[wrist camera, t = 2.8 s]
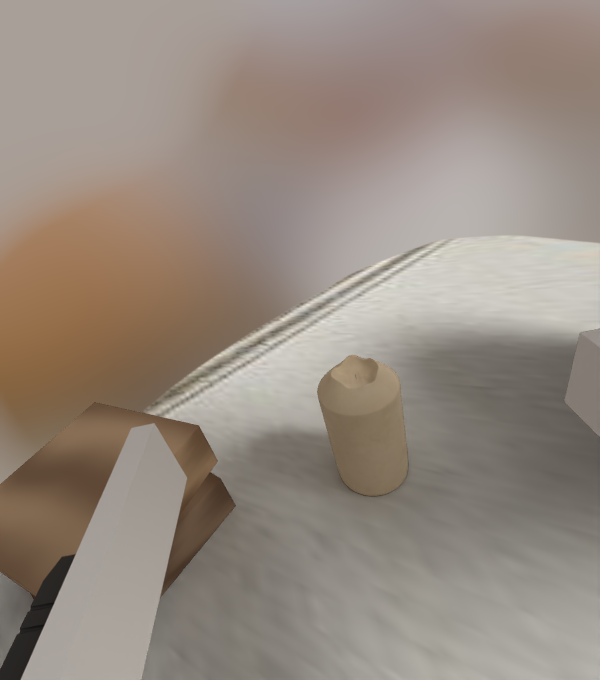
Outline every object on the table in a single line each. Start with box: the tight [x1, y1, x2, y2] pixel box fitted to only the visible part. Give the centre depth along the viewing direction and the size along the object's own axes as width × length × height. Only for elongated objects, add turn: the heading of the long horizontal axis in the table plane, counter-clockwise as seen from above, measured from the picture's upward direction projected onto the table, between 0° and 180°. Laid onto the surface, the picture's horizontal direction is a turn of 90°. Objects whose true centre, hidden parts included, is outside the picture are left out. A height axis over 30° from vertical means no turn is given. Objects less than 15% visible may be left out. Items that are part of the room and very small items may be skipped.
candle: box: [317, 355, 408, 496], centre depth 27 cm, size 6×6×10 cm
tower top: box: [0, 402, 218, 596], centre depth 26 cm, size 12×12×4 cm
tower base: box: [30, 473, 236, 599], centre depth 28 cm, size 12×12×4 cm
